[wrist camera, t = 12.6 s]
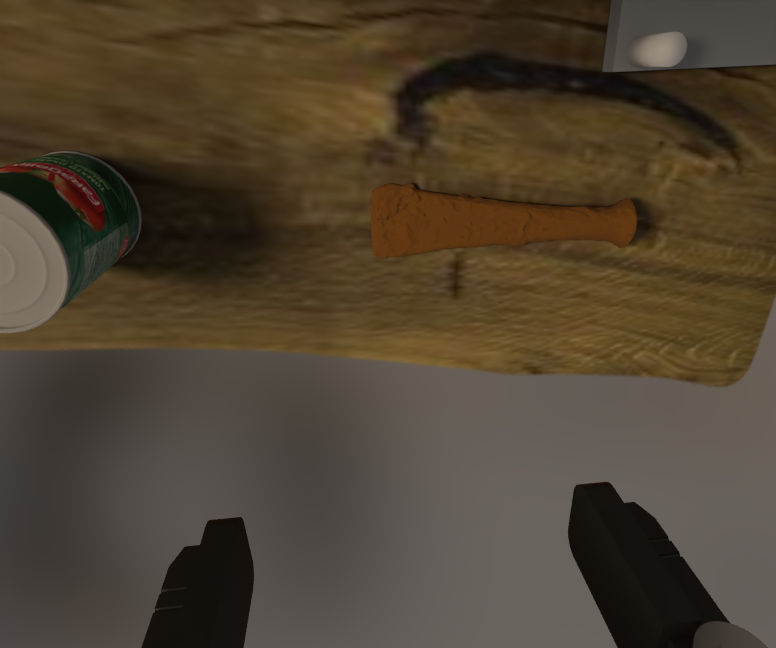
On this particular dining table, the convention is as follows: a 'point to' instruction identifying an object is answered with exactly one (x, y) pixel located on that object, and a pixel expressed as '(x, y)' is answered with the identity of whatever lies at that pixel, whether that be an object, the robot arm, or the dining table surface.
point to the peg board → (689, 34)
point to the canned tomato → (59, 232)
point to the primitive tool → (485, 222)
